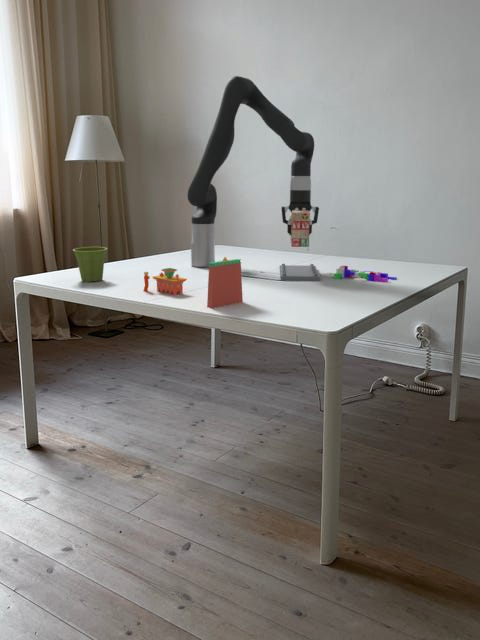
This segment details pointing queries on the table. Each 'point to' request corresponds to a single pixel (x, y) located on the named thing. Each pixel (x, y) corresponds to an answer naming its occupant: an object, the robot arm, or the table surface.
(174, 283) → the toy building block set
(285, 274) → the baseplate
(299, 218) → the stack of blocks
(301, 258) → the table surface
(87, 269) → the plant pot
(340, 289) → the table surface
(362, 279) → the building block set
